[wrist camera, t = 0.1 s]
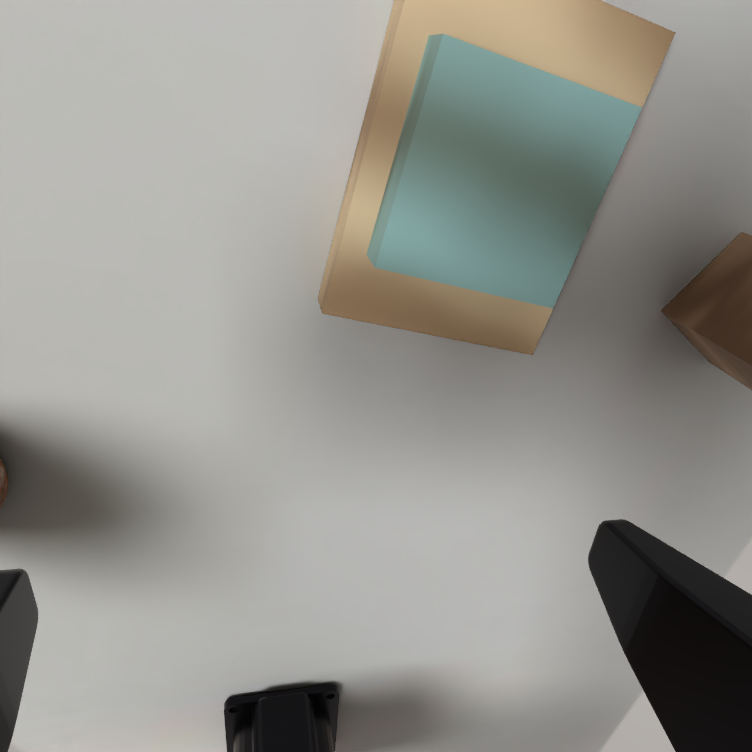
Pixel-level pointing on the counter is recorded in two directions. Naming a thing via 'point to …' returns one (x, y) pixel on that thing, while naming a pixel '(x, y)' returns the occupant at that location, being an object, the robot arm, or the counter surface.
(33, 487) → the counter surface
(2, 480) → the sauce bottle
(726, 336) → the pillar
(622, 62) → the plinth
